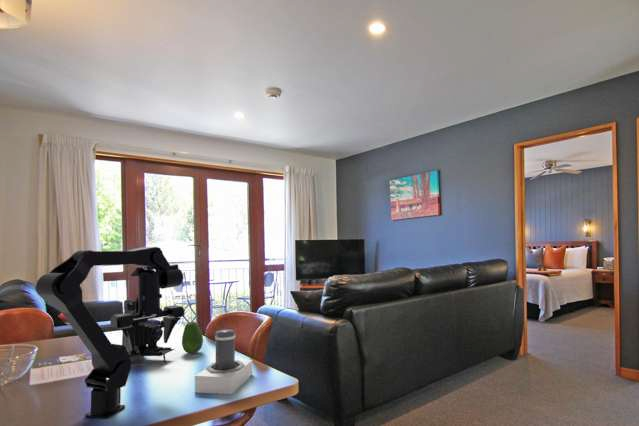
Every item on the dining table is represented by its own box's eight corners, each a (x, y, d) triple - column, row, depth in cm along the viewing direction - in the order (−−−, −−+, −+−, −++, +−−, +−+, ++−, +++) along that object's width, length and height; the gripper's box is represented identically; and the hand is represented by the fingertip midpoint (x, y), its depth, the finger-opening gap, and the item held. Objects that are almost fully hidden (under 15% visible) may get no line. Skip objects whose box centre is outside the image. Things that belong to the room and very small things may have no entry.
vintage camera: (158, 368, 130) (162, 309, 132) (119, 364, 133) (123, 307, 135) (174, 360, 139) (177, 305, 141) (138, 357, 142) (141, 303, 144)
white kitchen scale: (231, 394, 104) (231, 375, 104) (195, 392, 106) (195, 373, 106) (252, 374, 120) (252, 358, 120) (220, 373, 122) (220, 356, 122)
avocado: (180, 352, 147) (180, 321, 148) (201, 349, 150) (201, 318, 151) (183, 357, 140) (183, 324, 141) (205, 354, 143) (205, 322, 144)
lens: (225, 384, 109) (225, 334, 110) (210, 380, 112) (211, 332, 113) (239, 378, 114) (239, 330, 115) (225, 374, 117) (225, 328, 118)
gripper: (168, 285, 120) (168, 335, 119) (103, 293, 106) (103, 349, 106) (185, 287, 112) (185, 341, 111) (117, 296, 99) (117, 357, 98)
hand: (149, 346), depth 107 cm, fingers open, 9 cm apart
